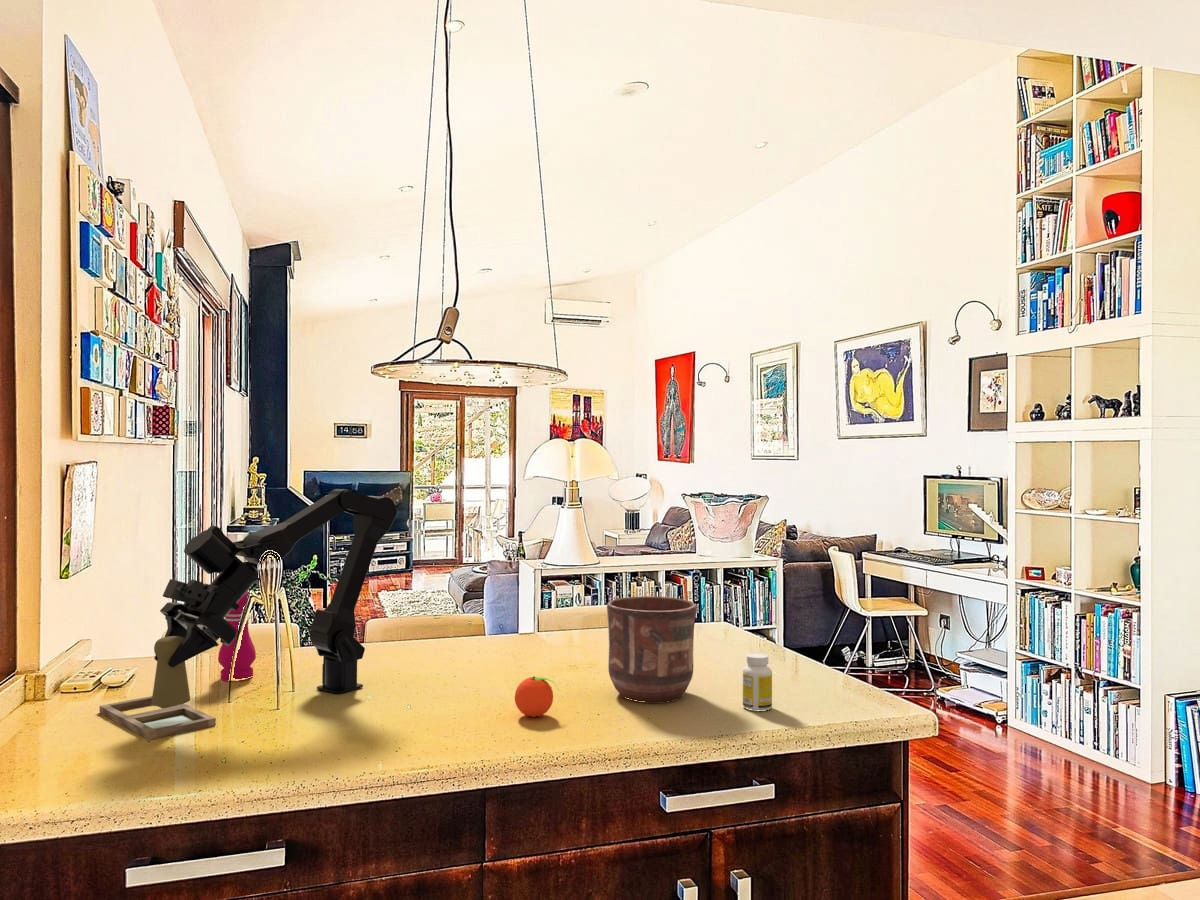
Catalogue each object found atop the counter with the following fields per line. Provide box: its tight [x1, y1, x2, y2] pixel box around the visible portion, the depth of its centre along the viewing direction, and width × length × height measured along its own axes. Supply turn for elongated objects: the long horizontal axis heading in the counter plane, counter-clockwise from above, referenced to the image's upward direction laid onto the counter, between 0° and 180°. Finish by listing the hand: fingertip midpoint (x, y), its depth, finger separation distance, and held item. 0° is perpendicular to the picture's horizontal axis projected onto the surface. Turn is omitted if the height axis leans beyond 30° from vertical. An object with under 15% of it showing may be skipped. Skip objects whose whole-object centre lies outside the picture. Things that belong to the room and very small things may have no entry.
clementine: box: [514, 676, 560, 718], centre depth 161 cm, size 8×7×7 cm
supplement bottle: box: [742, 653, 773, 711], centre depth 167 cm, size 5×5×10 cm
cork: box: [151, 636, 191, 708], centre depth 153 cm, size 6×6×11 cm
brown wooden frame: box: [98, 695, 217, 740], centre depth 157 cm, size 22×11×1 cm, turn 48°
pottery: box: [606, 595, 697, 703], centre depth 176 cm, size 18×18×18 cm
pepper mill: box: [217, 590, 257, 682], centre depth 185 cm, size 7×7×20 cm
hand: (162, 663), depth 152 cm, fingers closed on cork, 5 cm apart
